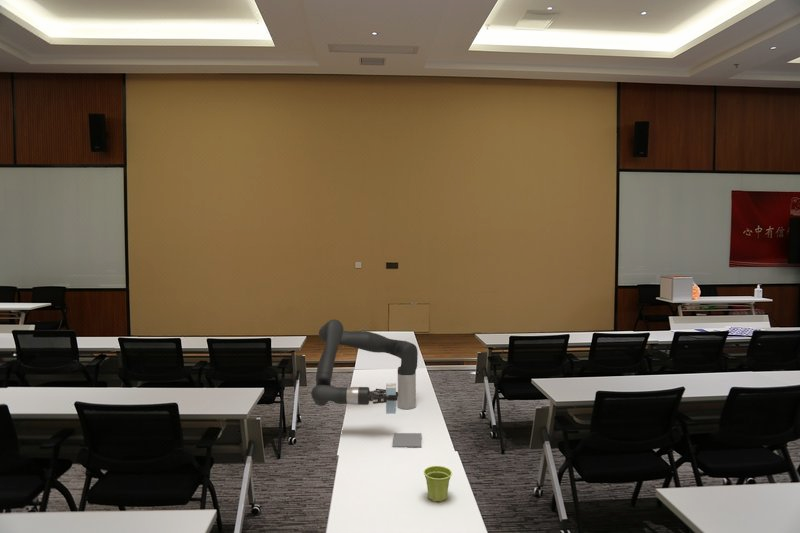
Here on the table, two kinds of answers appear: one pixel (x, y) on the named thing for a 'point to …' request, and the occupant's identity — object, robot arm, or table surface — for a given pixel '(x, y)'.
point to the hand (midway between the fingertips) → (397, 396)
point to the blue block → (390, 404)
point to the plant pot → (437, 482)
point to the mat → (407, 440)
